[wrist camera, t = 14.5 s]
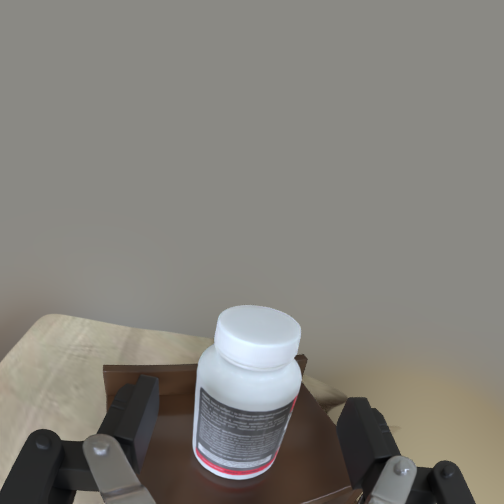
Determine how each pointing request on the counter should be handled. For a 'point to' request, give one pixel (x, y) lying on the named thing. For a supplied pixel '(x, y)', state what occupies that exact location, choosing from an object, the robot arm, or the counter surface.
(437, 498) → the robot arm
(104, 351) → the counter surface
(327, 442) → the spice shelf
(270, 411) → the pill bottle
